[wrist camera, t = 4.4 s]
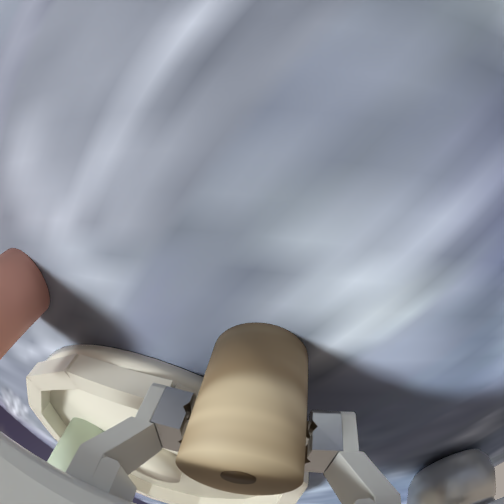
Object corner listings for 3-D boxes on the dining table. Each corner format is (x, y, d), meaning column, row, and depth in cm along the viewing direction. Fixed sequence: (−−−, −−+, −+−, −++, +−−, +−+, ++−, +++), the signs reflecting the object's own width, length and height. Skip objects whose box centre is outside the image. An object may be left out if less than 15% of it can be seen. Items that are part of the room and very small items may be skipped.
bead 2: (64, 410, 15) (31, 465, 11) (108, 429, 15) (77, 492, 10) (82, 436, 17) (56, 486, 12) (123, 453, 16) (99, 508, 12)
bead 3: (212, 316, 11) (164, 439, 6) (315, 328, 10) (316, 461, 6) (215, 380, 12) (183, 484, 8) (300, 391, 12) (292, 500, 7)
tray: (7, 309, 13) (-15, 331, 11) (341, 384, 11) (344, 428, 9) (93, 455, 21) (85, 471, 19) (282, 502, 19) (280, 523, 17)
